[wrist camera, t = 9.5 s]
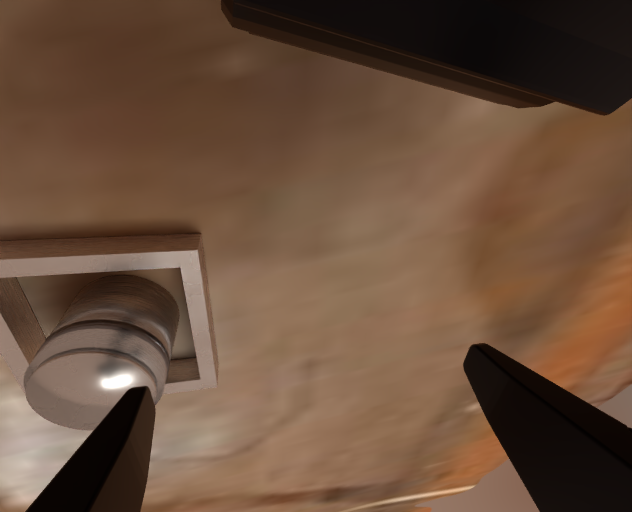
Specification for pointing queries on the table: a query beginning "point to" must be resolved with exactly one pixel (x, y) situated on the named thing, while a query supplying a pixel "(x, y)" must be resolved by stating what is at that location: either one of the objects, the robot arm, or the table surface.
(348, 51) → the robot arm
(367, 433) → the table surface
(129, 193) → the table surface
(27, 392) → the piston
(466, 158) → the table surface
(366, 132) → the table surface
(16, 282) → the grey square frame
